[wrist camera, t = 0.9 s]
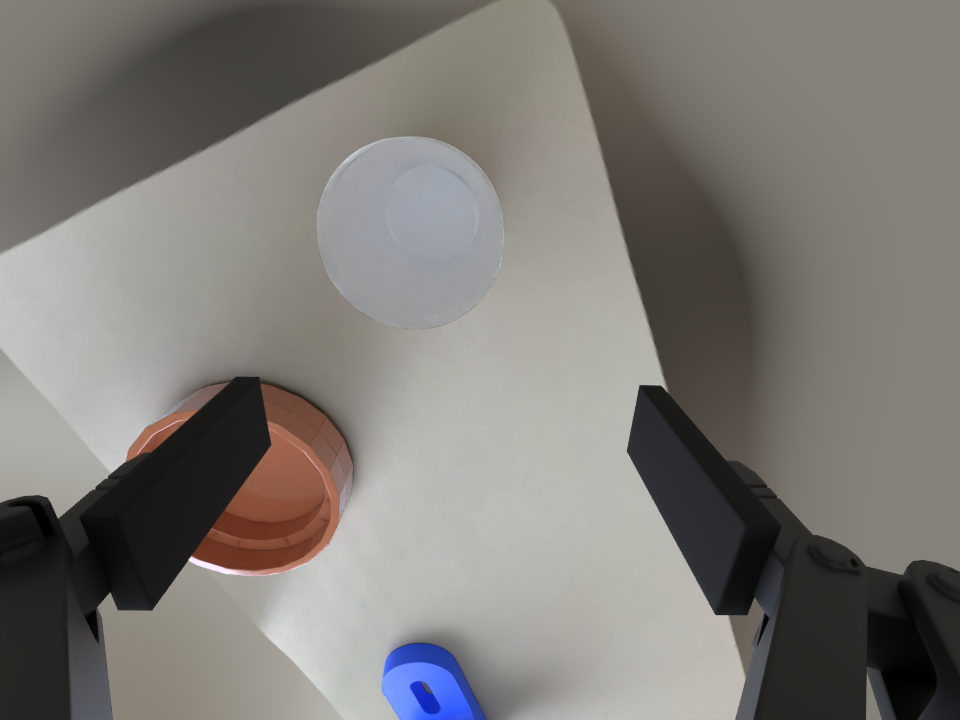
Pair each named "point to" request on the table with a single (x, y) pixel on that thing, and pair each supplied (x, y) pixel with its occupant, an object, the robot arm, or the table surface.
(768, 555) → the robot arm
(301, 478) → the bowl
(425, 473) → the table surface
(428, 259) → the cup
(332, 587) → the table surface
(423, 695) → the bracket
